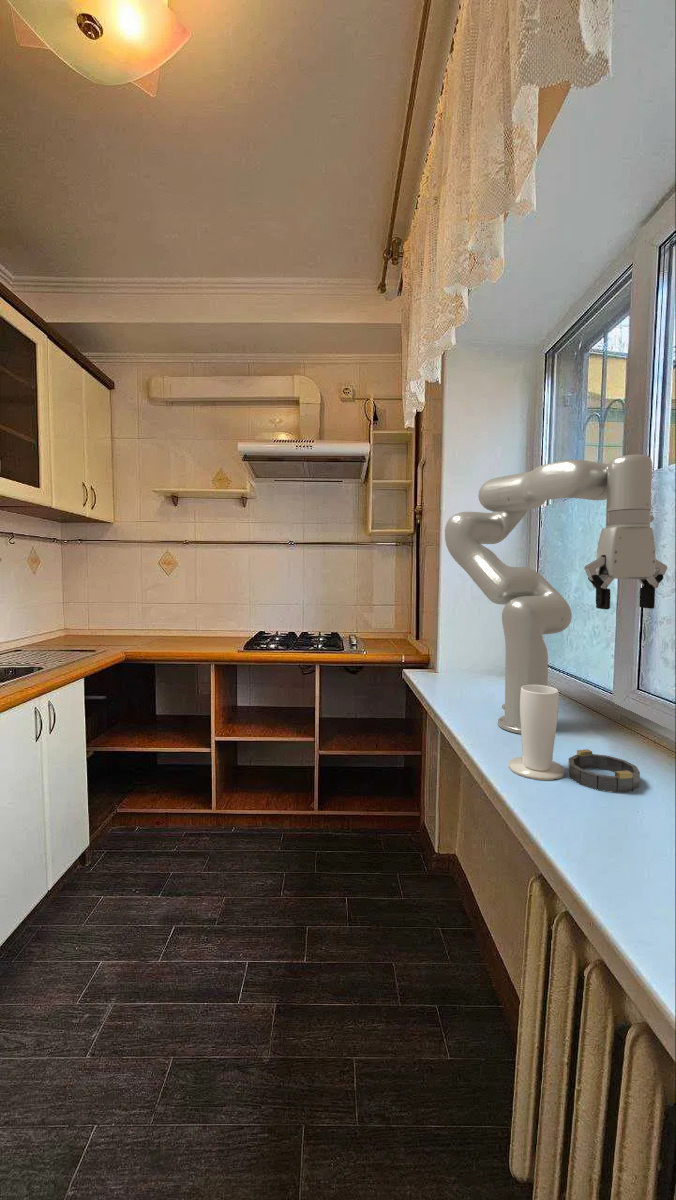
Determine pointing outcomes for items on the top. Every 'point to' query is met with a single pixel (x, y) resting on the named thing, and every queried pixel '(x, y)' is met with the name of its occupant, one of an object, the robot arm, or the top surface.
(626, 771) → the collar
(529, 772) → the disc
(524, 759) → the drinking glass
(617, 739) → the top surface
